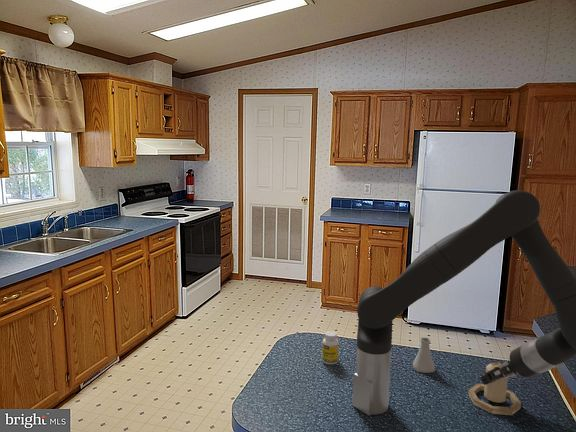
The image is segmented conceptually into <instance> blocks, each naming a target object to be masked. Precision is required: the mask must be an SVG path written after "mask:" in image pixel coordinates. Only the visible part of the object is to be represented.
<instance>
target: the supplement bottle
mask: <svg viewBox="0 0 576 432" xmlns="http://www.w3.org/2000/svg"><path fill="white" fill-rule="evenodd" d="M337 335H338V333H337V332H335V331H332V330H327V331H325V332H324V338H323V340H322V348H321V350H322V351H321V361H322V362H323V363H324V364H326V365H335V364H337V363H339V339H338V338H337V337H338V336H337Z"/></svg>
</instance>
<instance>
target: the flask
mask: <svg viewBox="0 0 576 432" xmlns="http://www.w3.org/2000/svg"><path fill="white" fill-rule="evenodd" d="M419 339H420V348H419V350H418V352H417V354H416V357H415V358H414V360H413V363H412V369H414V370H415V371H416V372H417V373H418V372H419V373H423V374H430V373H435V372H436V367H435V364H434V360H433V358H432V357H433V356H432V354H431V349H430V343H431V338H429V337H426V336H425V337H424V336H423V337H420V338H419Z"/></svg>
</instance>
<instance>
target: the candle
mask: <svg viewBox="0 0 576 432" xmlns="http://www.w3.org/2000/svg"><path fill="white" fill-rule="evenodd" d="M502 364H503V363H501V362H499V361H495V362H492V363H489V364H487V365H486V366H485V373H486V372H489V371H491V370H492V369H494V368H495V367H497V366H499V365H502ZM501 368H502V367H501ZM501 368H500V370H501ZM502 374H503V373H502ZM503 376H504V377H505V375H504V374H503ZM506 376H507V375H506ZM508 378H509V377H508ZM508 378H506V379H504V380H500V379H498V380H496V381H495V382H494V381H493V382H492V383H489V384H486V385H485V389H484V391H483V395H484V397H485V398H486V399H487V400H489V401H490V402H494V403H498V404H501V403H503V402H505V401H506V399H507V397H506V390H508Z"/></svg>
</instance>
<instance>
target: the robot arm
mask: <svg viewBox="0 0 576 432" xmlns="http://www.w3.org/2000/svg"><path fill="white" fill-rule="evenodd" d="M540 212H541V204H540V201H539V199H538V198H537V197H536V196H535V195H534V194H533V193H530V192H529V191H525V190H522V189H521V190H520V189H519V190H517V189H516V190H510V191H508V192H506V193H502V195H500V196H499V197H498V198H497V199H496V201H495V203H493V205H492V206H491V207H490V208H488V209H487V210H485V212H483V213H482V214H481V215H480V216H479V217H477V218H476V219H475V220H473V221H472V222H470V223H469V224H467V225H465V226H463V227H461V228H460V229H457V230H455V231H453V232H452V233H449V234H448V235H446V236H444V237H443V238H441V239H440V240H438V241H437V242H435V243H434V244H433V245H430V247H428V248H426V249H425V250H424V251H423V252H421V253H420V254H419V255H418V256H417V257H415V259H414V260H413V261H412V262H411V263H410V264H409V265H408V266H407V267H406V268H405V270H403V271H402V273H401V274H400V275H399V276H398V277H397V278H396V279H395V280H393V281H392V282H390V284H388V285H386V286H384V287H381V286H377V285H376V286H374V285H373V286H370V287H368V288H366V289H365V290H364V291H362V293H361V294H360V296H359V299H358V303H357V308H356V311H357V317H358V320H357V321H358V323H357V331H356V332H357V333H356V334H357V335H356V354H355V355H356V357H355V359H356V360H355V362H356V363H355V373H353V377H352V380H353V381H352V406H353V407H354V408H356V409H358V410H359V411H360V412H362V413H364V414H365V415H366V416H372V415H381V414H384V413H386V412H387V411H388V409H389V400H390V399H389V398H390V381H391V363H392V361H391V359H392V343H393V342H392V341H393V320H395V319H396V318H397V317H398V316H400V314H402V313H403V312H404V311H405V310H406V309H407V308H409V307H410V306H412V305H413V304H414V303H416V302H417V301H418V300H420V299H423V298H424V297H426V296H427V295H429V294H430V293H432V292H434V291H435V290H437V288H439V287H441V286H443V284H445V283H447V282H449V281H450V280H452V279H453V278H455V277H457V276H458V275H459V274H460V273H462V272H463V271H465V270H466V269H467V268H469V267H470V266H471V265H472V264H474V262H476V261H478V260H479V259H480V258H481V257H482V256H484V255H485V254H486V253H487V252H488V251H490V250H491V249H492V248H494V247H495V246H496V245H499V243H501V242H503V241H504V240H506V239H508V238H510V237H511V238H512V239H513V240H514V242H515V243H516V244H517V246H518V248H520V250H521V252H522V253H523V255H524V257H525V258H526V260H527V262H528V263H529V265H530V268H531V269H532V272H533V274H535V276H536V278H537V280H538V282H539V285H540V286H541V288H542V289H543V291H544V292H545V294H546V296H547V298H548V299H549V301H550V303H551V305H552V306H553V307H554V312H555V317H556V318H557V319H556V320H557V322H558V325H559V328H556V329H555V330H552V331H551V332H548V333H546V334H544V335H543V336H540V337H538V338H536V339H532V340H530V341H528V342H526V343H524V344H521V346H518V347H516V348H515V349H512V350H511V351H510V353H509V360H506V361H504V362H502V363H501V364H502V365H499V366H497V367H495V368H494V369H492V370H491V371H489V372H486V371H485V373H484V375H481V376H480V381H481V383H482V384H484V385H486V384H489V383H492V382H493V381H494V382H495V381H496V380H498V379H500V380H504V379H506V378H513V377H515V376H517V375H518V376H522V377H523V378H526V379H531V378H533V377H536V376H538V375H541V374H543V373H546V372H547V371H550V370H551V369H553V368H555V367H556V366H559V365H560V364H563V363H565V362H568V361H570V360H571V359H572V358H574V357H575V356H576V276H575V275H574V273H573V272H572V270H571V269H570V268H569V266H568V265H567V264H566V262H565V261H564V260H563V258H562V257H561V255H560V254H559V253H558V252H557V250H556V249H555V248H554V246H553V245H552V244H551V242H550V241H549V239H548V238H547V236H546V235H545V233H544V231H543V229H542V227H541V225H540V222H539V219H538V218H539V216H540ZM501 367H502V368H501ZM500 368H501V370H500ZM502 373H503V374H504V375H505V377H504V376H503V374H502ZM506 375H507V376H506Z"/></svg>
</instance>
